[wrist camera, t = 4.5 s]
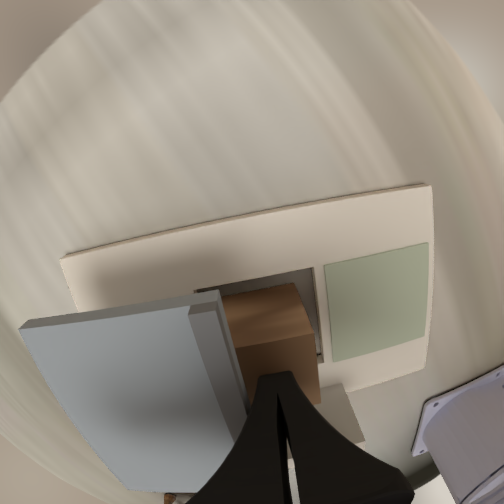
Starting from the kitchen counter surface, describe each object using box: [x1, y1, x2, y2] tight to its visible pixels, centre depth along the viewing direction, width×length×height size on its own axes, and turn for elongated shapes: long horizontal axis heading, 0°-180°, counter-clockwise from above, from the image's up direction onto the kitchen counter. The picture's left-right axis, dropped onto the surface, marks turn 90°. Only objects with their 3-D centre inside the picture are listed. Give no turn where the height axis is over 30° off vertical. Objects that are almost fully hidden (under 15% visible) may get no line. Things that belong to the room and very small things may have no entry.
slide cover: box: [18, 289, 251, 493], centre depth 11 cm, size 8×11×1 cm
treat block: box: [221, 283, 321, 405], centre depth 15 cm, size 4×4×5 cm
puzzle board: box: [59, 184, 434, 469], centre depth 14 cm, size 20×12×6 cm, turn 101°
